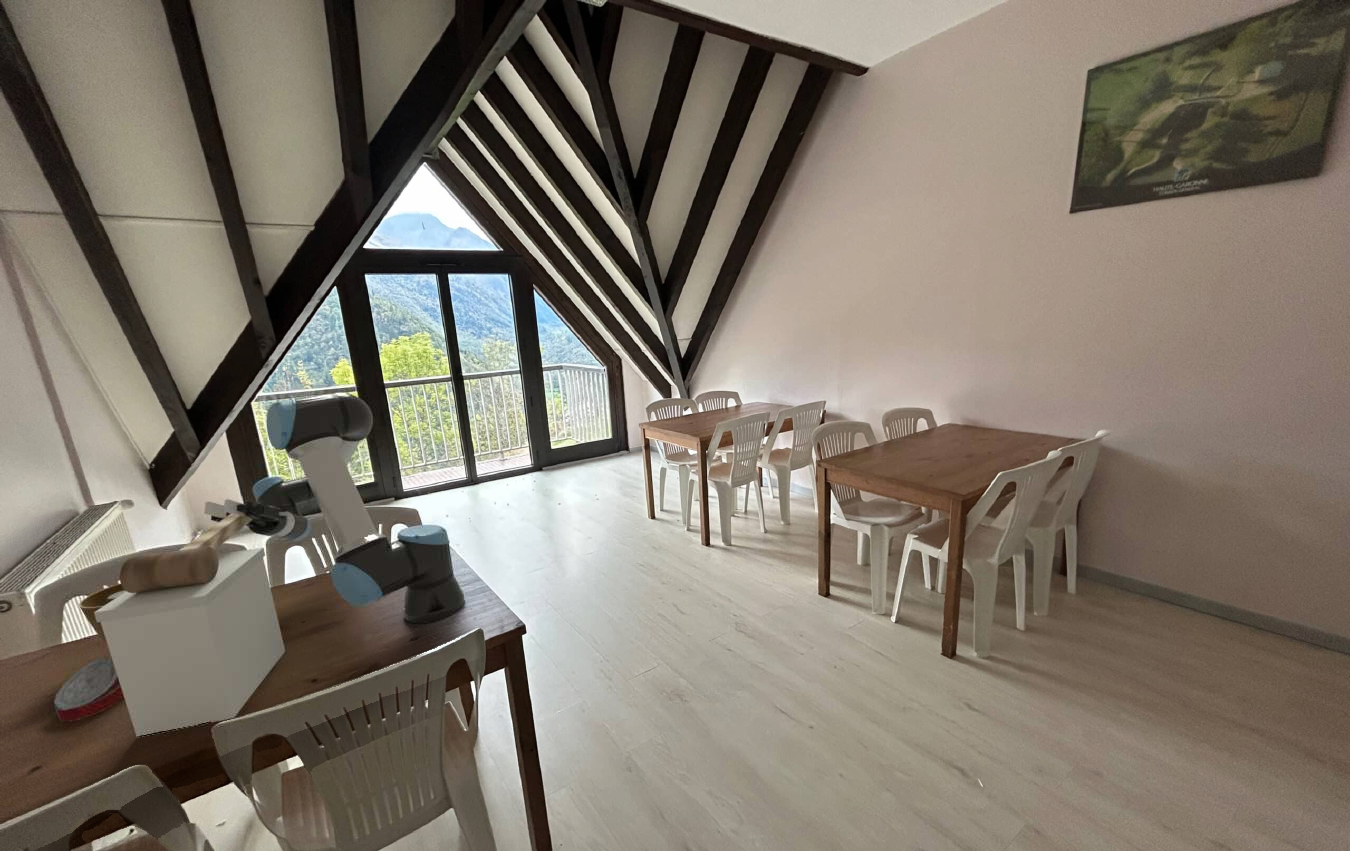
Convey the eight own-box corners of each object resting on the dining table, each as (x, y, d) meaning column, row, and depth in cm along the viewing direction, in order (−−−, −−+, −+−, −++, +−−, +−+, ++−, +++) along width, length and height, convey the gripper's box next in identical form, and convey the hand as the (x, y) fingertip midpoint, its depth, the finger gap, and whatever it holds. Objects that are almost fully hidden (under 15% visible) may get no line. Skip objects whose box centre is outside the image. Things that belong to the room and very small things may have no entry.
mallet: (201, 588, 100) (191, 556, 98) (126, 600, 97) (115, 567, 95) (275, 524, 128) (268, 498, 127) (219, 531, 126) (211, 505, 124)
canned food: (132, 713, 112) (134, 683, 108) (61, 741, 103) (61, 709, 100) (117, 676, 116) (118, 645, 113) (48, 700, 108) (47, 668, 104)
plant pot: (197, 634, 132) (182, 578, 129) (122, 672, 118) (103, 610, 115) (159, 627, 136) (143, 572, 133) (83, 663, 122) (63, 603, 119)
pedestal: (237, 717, 103) (204, 595, 97) (133, 738, 98) (93, 612, 93) (287, 650, 123) (263, 547, 118) (204, 665, 119) (175, 559, 114)
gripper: (304, 531, 139) (256, 517, 117) (235, 540, 135) (172, 528, 113) (305, 504, 141) (258, 485, 119) (237, 512, 137) (176, 495, 115)
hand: (216, 506), depth 116 cm, fingers closed on mallet, 3 cm apart
